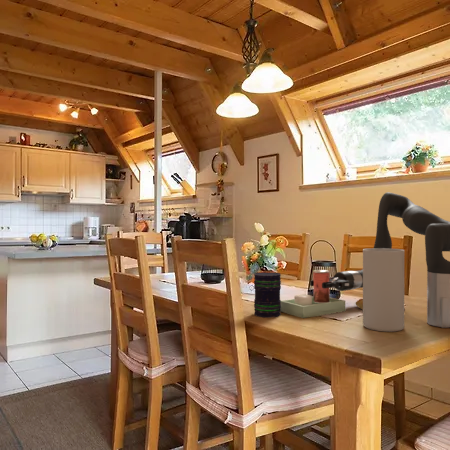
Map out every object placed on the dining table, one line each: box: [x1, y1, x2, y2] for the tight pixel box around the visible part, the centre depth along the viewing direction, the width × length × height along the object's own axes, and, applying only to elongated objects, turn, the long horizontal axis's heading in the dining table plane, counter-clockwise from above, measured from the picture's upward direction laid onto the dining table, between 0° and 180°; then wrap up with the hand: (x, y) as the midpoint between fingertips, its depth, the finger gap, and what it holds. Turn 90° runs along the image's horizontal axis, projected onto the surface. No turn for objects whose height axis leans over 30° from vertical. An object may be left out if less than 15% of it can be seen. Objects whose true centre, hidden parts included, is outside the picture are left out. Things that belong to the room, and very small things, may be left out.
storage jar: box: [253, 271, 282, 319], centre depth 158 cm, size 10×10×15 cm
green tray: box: [280, 296, 346, 319], centre depth 163 cm, size 21×13×4 cm, turn 121°
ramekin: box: [293, 294, 313, 306], centre depth 161 cm, size 6×6×4 cm
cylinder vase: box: [362, 247, 405, 333], centre depth 139 cm, size 12×12×25 cm
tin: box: [312, 269, 331, 304], centre depth 165 cm, size 6×6×12 cm
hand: (316, 284), depth 164 cm, fingers closed on tin, 6 cm apart
